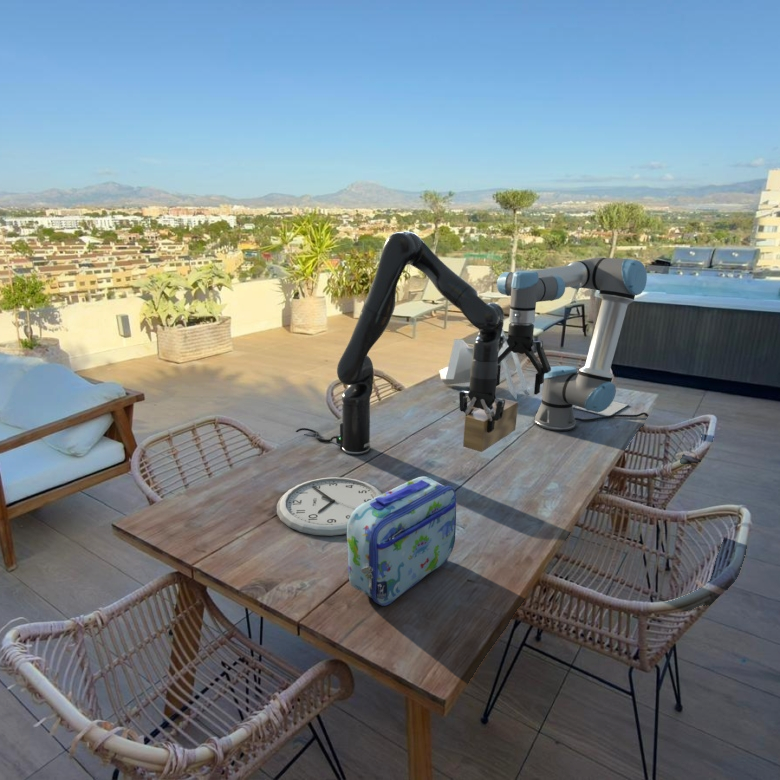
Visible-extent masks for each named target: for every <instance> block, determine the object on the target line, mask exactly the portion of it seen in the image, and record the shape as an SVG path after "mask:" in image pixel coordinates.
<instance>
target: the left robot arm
mask: <svg viewBox="0 0 780 780" xmlns="http://www.w3.org/2000/svg"><path fill="white" fill-rule="evenodd" d="M409 265H410V266H411V267H414V268H415V269H417V270H419V271H420V272H421V273H423V274H424V275H425V276H426V277H427V278H428V279H429V280H430V282H431V283H432V284H433V286H434V287H435V289H436V290H437V291H438V293H439V294H440V295H441V296H442V297H443V298H445V300H447V301H448V302H449V303H450V304H451V305H452V306H454V307H455V308H457V309H458V310H459V311H460V312H461V313H462V315H463V316H464V317H465V318H466V319H467V320H468V322H469V323H470V324H471V325H472V326H474V328H476V329H477V330H478V333H477V337H476V338H475V339H474V342H473V346H472V347H473V359H472V364H471V374H470V382H469V391H467V390H461V391H460V392H459V393H458V395H459V411H460V412H462V413H464V414H465V416H467V415H469V414H471V413H473V412H474V410H475V409H483V410H484V411H485V413H486V414H487V417H488V419H489V420H488V425H487V432H488V433H490V432H492V431H493V430H494V425H495V420H496V421H497V420H499V419H501V418H502V415H503V410H504V405H505V400H504V399H505V398H502V400H500V399H499V398H497V396H496V391H497V386H496V383H497V375H498V351H499V341H500V337H501V333H502V329H503V330H504V324H505V312H504V309H503V308H502V306H501V305H500V304H498V303H495V302H489V303H487V302H485V301H484V300H483V299H482V298H481V297H479V294H478V291H477V290H476V289H475V288H474V287H473V286H472V285H470V284H469V283H468V282H467V281H465V279H463V278H462V277H461V276H459V275H458V274H457V273H455V272H454V271H453V270H452V269H451V268H450V267H448V266H447V265H446V264H445V263H444V262H443V261H442V260H441V259H440V258H439V257H438V256H437V255H436V254H435V253H434V252H433V251H432V250H431V248H430V247H429V246H428V245H427V244H426V243H425V242H424V241H423V240H422V238H420V236H419V235H418V234H416V233H414V232H412V231H398V232H397V231H396V232H394V233H392V234H390V235H389V236H388V237H387V238H386V240H385V242H384V244H383V248H382V251H381V255H380V259H379V262H378V265H377V266H378V267H377V268H376V273H375V275H374V278H373V280H372V283H371V285H370V288H369V291H368V293H367V295H366V298H365V300H364V303H363V305H362V307H361V309H360V313H359V316H358V319H357V321H356V324H355V326H354V329H353V331H352V334H351V337H350V338H349V341H348V343H347V345H346V346H345V349H344V351H343V353H342V355H341V357H340V358H339V361H338V363H337V366H336V375H337V378H338V380H339V382H341V384H343V385H346V386H347V388H346V389H345V390H344V391H343V392H342V395H341V411H342V413H341V414H342V415H341V417H342V419H341V420H342V421H341V422H340V423H339V434H337V435H334V436H331V437H330V438H328V439H324V438H321V437H319V435H320V433H319V431H317V430H314V429H311V428H308V427H307V428H306V427H301V428H298V429H296V430H295V433H299V432H300V431H307V432H311V433H314V434H315V436H314V437H315V440H317V441H320V442H324V443H325V442H326V443H329V442H332V441H333V440H335V442H336V444H337V445H339V449H340V450H341V451H343V453H345V454H348V455H352V456H353V455H355V456H356V455H357V456H358V455H365V454H367V453H369V451H370V450H371V443H370V442H371V441H370V440H371V429H370V428H371V396H372V394H373V388H374V387H373V386H374V385H373V384H374V365H373V362H372V359H371V358H370V356H369V355H368V354H369V353H370V350H372V347H373V346H374V345H375V344H376V343H377V342H378V340H379V339H380V338H381V337H382V335H383V334H384V333H385V331H386V330H387V329H388V326H389V324H390V322H391V319H392V317H393V314H394V311H395V308H396V299H397V297H396V296H397V286H398V283H399V280H400V279H401V277H402V274H403V272H404V270H405V268H406V267H407V266H409ZM468 398H469V400H470V402H469V404H468ZM494 402H495V403H496V407H497V408H496V412H494V407H493V403H494ZM488 408H489V409H488Z"/></svg>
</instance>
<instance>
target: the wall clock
mask: <svg viewBox="0 0 780 780" xmlns="http://www.w3.org/2000/svg"><path fill="white" fill-rule="evenodd" d="M381 494H384V492H382V491H381V490H380V489H379V488H377V487H376V486H374V485H372V484H371V483H369V482H365V481H362V480H359V479H355V478H349V477H338V476H337V477H335V476H333V477H332V476H331V477H322V478H317V479H312V480H307V481H305V482H302V483H299V484H297V485H295V486H293V487H292V488H290V489H288V490H287V491H286V492H285V493H284V494H283V495H281V496H280V498H279V499H278V502H277V503H276V515H277V517H278V518H279V520H280V521H281V522H282V523H283V524H285V525H286V526H287V527H288V528H290V529H293V530H295V531H297V532H299V533H303V534H308V535H312V536H327V537H328V536H329V537H331V536H332V537H333V536H342V535H347V525H348V521H349V518H350V516H351V514H352V513H353V511H354V510H355V509H356V508H357V507H358V506H360V505H362V504H363V503H365V502H368V501H370V500H372V499H374V498H376V497H378V496H380V495H381Z"/></svg>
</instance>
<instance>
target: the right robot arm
mask: <svg viewBox="0 0 780 780" xmlns="http://www.w3.org/2000/svg"><path fill="white" fill-rule="evenodd" d="M647 281H648V274H647V269H646V266H645V264H644V263H643V262H642V261H640V260H638V259H632V258H620V257H619V258H618V257H616V258H615V257H593V258H587V259H581V260H577V261H576V260H575V261H572V262H570V263H569V264H568V265H562V266H555V267H548V268H542V269H541V268H540V269H534V270H516V271H514V272H512V271H509V272H507V271H504V272H502V273H501V274H500V275H499V277H498V278H497V280H496V289H497V291H498V293H499V294H501V295H503V296H507V297H510V305H509V317H508V318H509V319H508V321H509V323H508V329H507V331H508V332H507V336H506V335H505V336H504V335H502V336H501V337H500V341H499V351H500V349H501V348H503V344H504V343H505V342H506V341H507V344H508V345H509V347H508V348H507V349H506V350H505V351H504V352H503V353H502V354H501V355H500V356H499V357H498V364H499V363H500V362H501V361H502V360H503V359H504V358H505V357H506V356H507V355H508V354H509V353H510V352H511V351H512V352H513V353H517V354H519V355H525V357H527V358H528V359H529V361H530V363H531V364H532V366H533V367H534V369H535V370H536V371H537V373H535V377H534V378H535V379H534V388H533V389H534V391H533V395H538V394H539V393H540V392H541V385H542V394H541V402H540V405H539V407H538V410H537V411H536V412H535V417H534V424H535V425H536V426H537V427H539V428H542V429H544V430H549V431H556V432H567V431H572V430H574V429H575V428H576V421H579V422H591V421H592V422H593V421H599V420H604V419H609V418H610V419H611V418H637V417H641V416H645V417H649V414H648V413H647V412H640V413H638V414H613V415H609V416H604V415H603V416H599V417H598V416H597V417H593V418H592V417H591V418H580V417H576V416H575V413H574V407H576V406H578V407H581V408H584V409H586V410H590V411H594V412H601V411H604V410H605V409H606V408H607V407H609V406H610V404H611V403H612V401H614V400H615V398H616V394H617V386H616V384H615V383H614V382H612V380H613V378H614V376H613V375H612V374H611V372H610V371H611V368H612V364H613V360H614V356H615V353H616V350H617V346H618V343H619V338H620V335H621V331H622V327H623V324H624V319H625V317H626V312H627V309H628V306H629V304H631V303H633V302H635V297H636V296H639V295H641V294H642V293H643V291H644V290H645V289H646V286H647ZM566 288H571V289H588V290H594V291H599V293H598V296H599V298H600V299H601V303H600V307H599V311H598V314H597V319H596V323H595V325H594V330H593V333H592V337H591V341H590V344H589V347H588V348H589V349H588V351H587V352H588V353H587V356H586V360H585V363H584V366H582V367H581V368H579V369H578V368H577V367H575V366H571V365H570V366H569V365H557V366H556V365H555V366H551V365H550V363H549V360H548V357H547V354H546V352H545V349H544V341H543V340H539V341H538V340H537V341H536V340H534V332H535V331H534V330H535V325H534V323H535V321H536V320H535V319H536V306H537V303H539V302H541V303H542V302H553V301H555V300H559V299H562V297H563V296H564V294H565V292H566ZM533 346H534V349H536V354H537V355H538V357H537V355H536V354H535V351H534V350H533V348H532V347H533ZM499 351H498V353H499ZM501 369H502V364H501V365H498V375H497V383H496V387H498V386H499V385H500V384H501V383H500V382H501ZM573 406H574V407H573Z"/></svg>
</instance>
